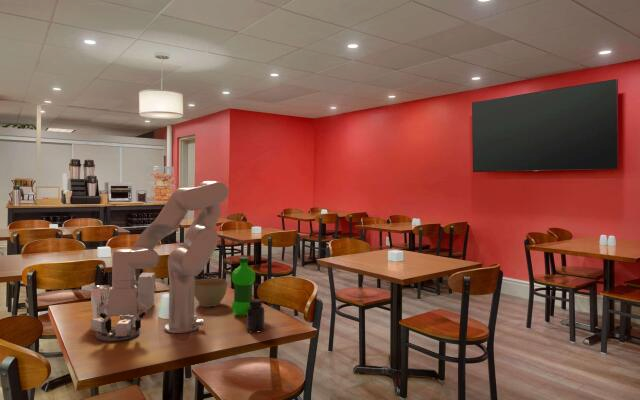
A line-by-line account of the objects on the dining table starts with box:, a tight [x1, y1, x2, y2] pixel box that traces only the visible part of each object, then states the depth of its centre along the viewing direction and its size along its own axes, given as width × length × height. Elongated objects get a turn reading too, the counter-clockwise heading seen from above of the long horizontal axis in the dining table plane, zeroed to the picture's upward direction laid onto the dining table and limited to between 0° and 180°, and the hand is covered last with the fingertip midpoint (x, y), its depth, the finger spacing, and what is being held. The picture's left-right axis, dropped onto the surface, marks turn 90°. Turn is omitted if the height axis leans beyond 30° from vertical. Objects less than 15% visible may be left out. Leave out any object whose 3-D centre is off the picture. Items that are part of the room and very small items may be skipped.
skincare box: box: [137, 272, 156, 310], centre depth 208 cm, size 8×6×15 cm
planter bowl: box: [194, 278, 229, 308], centre depth 214 cm, size 16×16×11 cm
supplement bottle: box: [246, 298, 265, 332], centre depth 179 cm, size 7×7×12 cm
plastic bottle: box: [231, 256, 256, 316], centre depth 199 cm, size 10×10×25 cm
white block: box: [90, 316, 107, 333], centre depth 168 cm, size 4×6×5 cm, turn 61°
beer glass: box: [90, 284, 111, 318], centre depth 181 cm, size 7×7×15 cm
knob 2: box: [115, 319, 131, 337], centre depth 165 cm, size 4×6×5 cm, turn 9°
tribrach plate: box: [94, 325, 141, 343], centre depth 170 cm, size 15×15×2 cm
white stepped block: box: [119, 315, 136, 327], centre depth 175 cm, size 4×6×5 cm, turn 71°
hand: (123, 330), depth 165 cm, fingers open, 9 cm apart
